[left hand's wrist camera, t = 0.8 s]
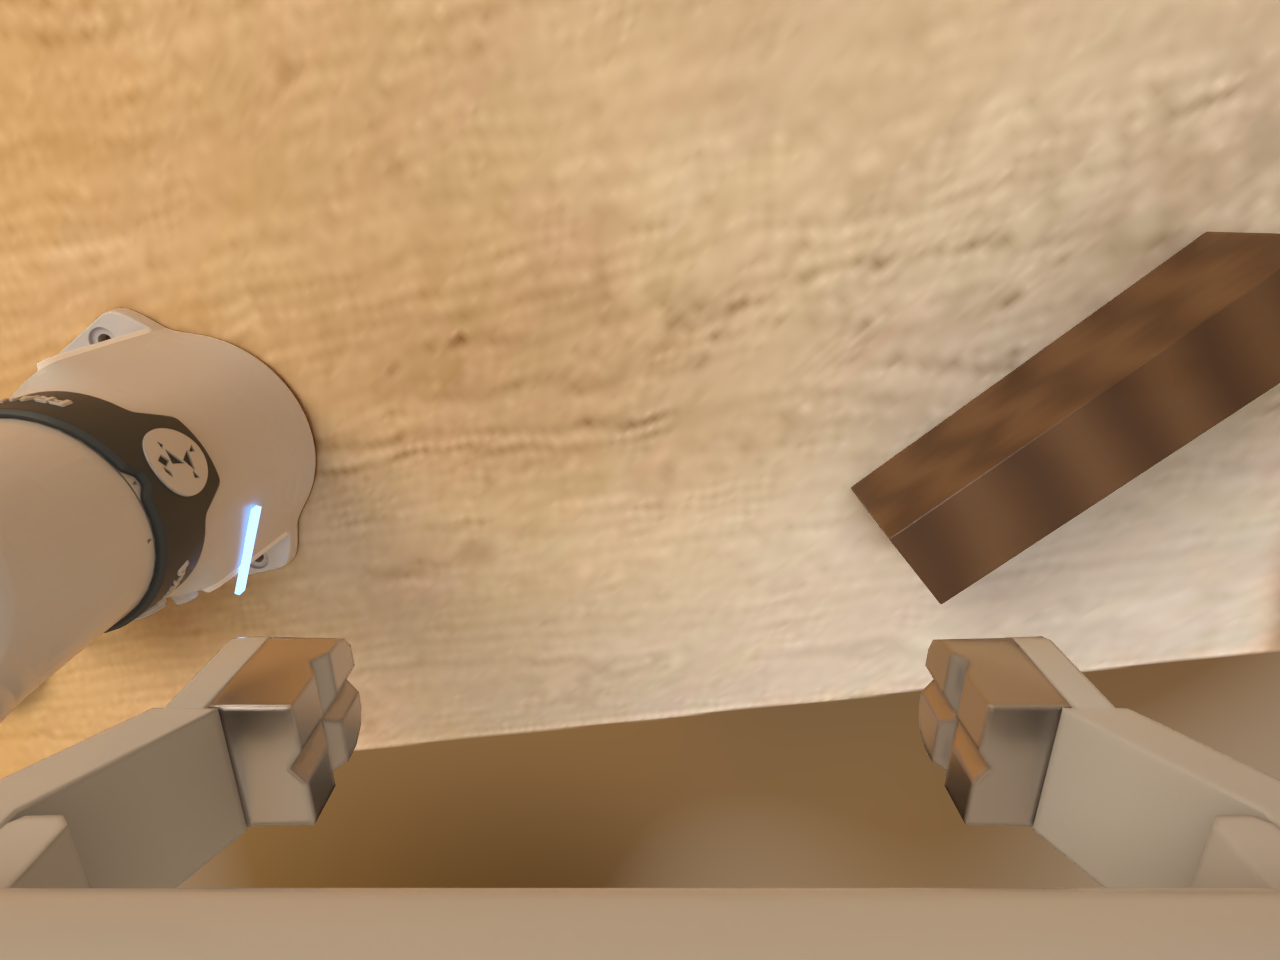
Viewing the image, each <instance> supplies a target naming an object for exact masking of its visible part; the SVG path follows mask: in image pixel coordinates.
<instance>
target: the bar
mask: <svg viewBox="0 0 1280 960" xmlns="http://www.w3.org/2000/svg"><path fill="white" fill-rule="evenodd" d="M1279 383H1280V234H1270V233H1233V232H1206V233H1205V234H1203V235H1202V236H1201V237H1199V238H1198V239H1196V240H1195V241H1194V242H1192V243H1191V244H1189V245H1188V246H1187V247H1185V248H1184V249H1182V250H1181V251H1180V252H1178V253H1177V254H1176V255H1174V256H1173V257H1171V258H1170V259H1169V260H1167V261H1166V262H1164V263H1163V264H1162V265H1160V266H1159V267H1157V268H1156V269H1155V270H1153V271H1152V272H1150V273H1149V274H1148V275H1146V276H1145V277H1144V278H1142V279H1141V280H1139V281H1138V282H1137V283H1135V284H1134V285H1132V286H1131V287H1130V288H1128V289H1127V290H1125V291H1124V292H1123V293H1121V294H1120V295H1119V296H1117V297H1116V298H1114V299H1113V300H1112V301H1110V302H1109V303H1107V304H1106V305H1105V306H1103V307H1102V308H1100V309H1099V310H1098V311H1096V312H1095V313H1093V314H1092V315H1091V316H1089V317H1088V318H1087V319H1085V320H1084V321H1082V322H1081V323H1080V324H1078V325H1077V326H1075V327H1074V328H1073V329H1071V330H1070V331H1068V332H1067V333H1066V334H1064V335H1063V336H1062V337H1060V338H1059V339H1057V340H1056V341H1055V342H1053V343H1052V344H1050V345H1049V346H1048V347H1046V348H1045V349H1043V350H1042V351H1041V352H1039V353H1038V354H1036V355H1035V356H1034V357H1032V358H1031V359H1030V360H1028V361H1027V362H1025V363H1024V364H1023V365H1021V366H1020V367H1018V368H1017V369H1016V370H1014V371H1013V372H1011V373H1010V374H1009V375H1007V376H1006V377H1005V378H1003V379H1002V380H1000V381H999V382H998V383H996V384H995V385H993V386H992V387H991V388H989V389H988V390H986V391H985V392H984V393H982V394H981V395H980V396H978V397H977V398H975V399H974V400H973V401H971V402H970V403H968V404H967V405H966V406H964V407H963V408H961V409H960V410H959V411H957V412H956V413H954V414H953V415H952V416H950V417H949V418H948V419H946V420H945V421H943V422H942V423H941V424H939V425H938V426H936V427H935V428H934V429H932V430H931V431H929V432H928V433H927V434H925V435H924V436H923V437H921V438H920V439H918V440H917V441H916V442H914V443H913V444H911V445H910V446H909V447H907V448H906V449H904V450H903V451H902V452H900V453H899V454H897V455H896V456H895V457H893V458H892V459H891V460H889V461H888V462H886V463H885V464H884V465H882V466H881V467H879V468H878V469H877V470H875V471H874V472H872V473H871V474H870V475H868V476H867V477H866V478H864V479H863V480H861V481H860V482H859V483H857V484H856V485H854V486H853V487H852V488H851V489H852V490H853V492H854V493H855V494H856V496H857V497H858V498H859V500H860V501H861V502H862V504H863V505H864V506H865V508H866V509H867V510H868V512H869V513H870V514H871V515H872V517H873V518H874V519H875V521H876V522H877V523H878V525H879V526H880V527H881V529H882V530H883V531H884V533H885V534H886V535H887V537H888V538H889V539H890V541H891V542H892V543H893V544H894V546H895V547H896V548H897V549H898V551H899V552H900V553H901V555H902V556H903V557H904V558H905V560H906V561H907V562H908V563H909V565H910V566H911V567H912V569H913V570H914V571H915V572H916V574H917V575H918V576H919V577H920V579H921V580H922V581H923V582H924V584H925V585H926V586H927V588H928V589H929V590H930V591H931V593H932V594H933V595H934V596H935V598H936V599H937V600H938V602H939V603H940V604H943V603H944V602H946V601H947V600H949V599H950V598H952V597H953V596H955V595H956V594H958V593H960V592H961V591H963V590H964V589H966V588H967V587H969V586H970V585H972V584H973V583H975V582H976V581H978V580H979V579H981V578H982V577H984V576H985V575H987V574H989V573H990V572H992V571H993V570H995V569H996V568H998V567H999V566H1001V565H1002V564H1004V563H1005V562H1007V561H1008V560H1010V559H1011V558H1013V557H1015V556H1016V555H1018V554H1019V553H1021V552H1022V551H1024V550H1025V549H1027V548H1028V547H1030V546H1031V545H1033V544H1034V543H1036V542H1037V541H1039V540H1040V539H1042V538H1044V537H1045V536H1047V535H1048V534H1050V533H1051V532H1053V531H1054V530H1056V529H1057V528H1059V527H1060V526H1062V525H1063V524H1065V523H1066V522H1068V521H1069V520H1071V519H1073V518H1074V517H1076V516H1077V515H1079V514H1080V513H1082V512H1083V511H1085V510H1086V509H1088V508H1089V507H1091V506H1092V505H1094V504H1095V503H1097V502H1099V501H1100V500H1102V499H1103V498H1105V497H1106V496H1108V495H1109V494H1111V493H1112V492H1114V491H1115V490H1117V489H1118V488H1120V487H1121V486H1123V485H1124V484H1126V483H1128V482H1129V481H1131V480H1132V479H1134V478H1135V477H1137V476H1138V475H1140V474H1141V473H1143V472H1144V471H1146V470H1147V469H1149V468H1150V467H1152V466H1154V465H1155V464H1157V463H1158V462H1160V461H1161V460H1163V459H1164V458H1166V457H1167V456H1169V455H1170V454H1172V453H1173V452H1175V451H1176V450H1178V449H1179V448H1181V447H1183V446H1184V445H1186V444H1187V443H1189V442H1190V441H1192V440H1193V439H1195V438H1196V437H1198V436H1199V435H1201V434H1202V433H1204V432H1205V431H1207V430H1209V429H1210V428H1212V427H1213V426H1215V425H1216V424H1218V423H1219V422H1221V421H1222V420H1224V419H1225V418H1227V417H1228V416H1230V415H1231V414H1233V413H1234V412H1236V411H1238V410H1239V409H1241V408H1242V407H1244V406H1245V405H1247V404H1248V403H1250V402H1251V401H1253V400H1254V399H1256V398H1257V397H1259V396H1260V395H1262V394H1263V393H1265V392H1267V391H1268V390H1270V389H1271V388H1273V387H1274V386H1276V385H1277V384H1279Z"/></svg>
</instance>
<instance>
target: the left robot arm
mask: <svg viewBox="0 0 1280 960" xmlns="http://www.w3.org/2000/svg"><path fill="white" fill-rule="evenodd" d="M107 335H108V336H110V338H111V339H109V340H107V339H106V336H107ZM315 468H316V455H315V445H314V440H313V436H312V432H311V429H310V426H309V423H308V421H307V418H306V416H305V414H304V412H303V410H302V408H301V406H300V404H299V403H298V401H297V399H296V398H295V396H294V395H293V393H292V392H291V391H290V389H289V388H288V387H287V385H286V384H285V383H284V382H283V381H282V380H281V379H280V378H279V377H278V376H277V375H276V374H275V373H274V372H273V371H272V370H271V369H270V368H269V367H268V366H266V365H265V364H264V363H263V362H261V361H260V360H259V359H257V358H256V357H254V356H253V355H251V354H250V353H248V352H246V351H245V350H243V349H241V348H239V347H237V346H235V345H233V344H230V343H228V342H225V341H223V340H220V339H217V338H213V337H210V336H205V335H200V334H193V333H187V332H180V331H175V330H172V329H168V328H165V327H164V326H162V325H160V324H159V323H157V322H155V321H153V320H151V319H150V318H148V317H146V316H144V315H142V314H140V313H138V312H136V311H133V310H131V309H127V308H116V309H113V310H110V311H107V312H105V313H103V314H101V315H100V316H99V317H98V318H97V319H96V320H95V321H94V322H92V323H91V324H90V325H89V326H88V327H87V328H86V329H85V330H84V331H83V332H82V333H80V334H79V335H78V336H77V337H76V338H75V339H74V340H73V341H72V342H71V343H69V344H68V345H67V346H66V347H65V348H64V349H63V350H62V351H61V352H60V353H58V354H57V355H55V356H52V357H49V358H47V359H44V360H42V361H40V362H39V363H38V364H37V372H36V373H35V374H33V375H32V376H31V377H29V378H28V379H27V380H26V381H25V382H24V383H23V384H22V385H21V386H20V387H19V388H18V389H17V390H16V391H15V392H14V393H13V394H12V395H11V396H10V397H9V398H6V399H3V400H0V723H1V722H2V721H3V720H4V719H5V718H6V716H7V715H8V714H9V713H10V712H11V711H12V710H13V709H14V708H15V707H16V706H17V705H18V704H19V703H21V702H22V701H23V700H24V699H25V698H26V697H27V696H28V695H30V694H31V693H32V692H33V691H34V690H35V689H37V688H38V687H39V686H40V685H41V684H42V683H44V682H45V681H46V680H47V679H48V678H49V677H50V676H52V675H53V674H54V673H55V672H56V671H58V670H59V669H60V668H61V667H62V666H64V665H65V664H66V663H67V662H68V661H70V660H71V659H72V658H73V657H74V656H76V655H77V654H78V653H79V652H81V651H82V650H83V649H84V648H85V647H87V646H88V645H89V644H90V643H92V642H93V641H94V640H95V639H97V638H98V637H99V636H100V635H102V634H103V633H106V632H109V631H112V630H115V629H118V628H121V627H123V626H125V625H127V624H128V623H130V622H131V621H135V620H139V619H143V618H145V617H148V616H150V615H152V614H154V613H156V612H158V611H159V610H161V609H162V608H164V607H165V606H166V605H167V599H166V598H167V597H171V598H172V600H173V601H174V603H175V604H176V605H181V604H184V603H187V602H189V601H191V600H193V599H195V598H196V597H197V596H198V595H199V592H198V591H200V590H202V591H204V592H206V593H209V592H211V591H213V590H215V589H217V588H219V587H220V586H222V585H223V584H224V583H226V582H227V581H228V580H230V579H234V578H238V579H237V584H236V589H235V594H238V595H240V594H241V593H242V592H243V591H244V590H245V587H246V582H247V577H248V575H252V574H256V573H260V572H265V571H269V570H274V569H278V568H281V567H283V566H285V565H286V564H287V563H289V562H290V561H292V560H293V559H294V557H295V555H296V552H297V546H298V526H297V522H298V519H299V516H300V513H301V511H302V509H303V507H304V505H305V503H306V501H307V499H308V497H309V494H310V492H311V489H312V485H313V481H314V476H315ZM262 554H263V556H264V557H260V556H261V555H262ZM353 667H354V660H353V655H352V650H351V645H350V644H349V643H348V642H347V641H346V640H345V639H342V638H292V637H274V638H272V637H238V638H234V639H230V640H229V641H228V642H227V643H226V644H225V645H224V646H223V647H222V649H221V650H220V651H219V652H218V653H217V654H216V655H215V656H214V657H213V658H212V659H211V660H210V661H209V662H208V663H207V664H206V665H205V666H204V667H203V668H202V669H201V670H200V672H199V673H198V674H197V675H196V676H195V677H194V678H193V679H192V680H191V681H190V682H189V683H188V684H187V685H186V686H185V687H184V688H183V689H182V690H181V691H180V692H179V693H178V695H177V696H176V697H175V698H174V699H173V700H172V701H171V702H170V703H169V704H168V705H167V706H166V707H165V708H152V709H150V710H148V711H145V712H143V713H141V714H139V715H137V716H135V717H133V718H131V719H128V720H126V721H124V722H122V723H120V724H118V725H116V726H113V727H111V728H109V729H107V730H105V731H103V732H101V733H99V734H96V735H94V736H92V737H90V738H88V739H86V740H84V741H81V742H79V743H77V744H75V745H73V746H71V747H69V748H67V749H64V750H62V751H60V752H58V753H56V754H54V755H52V756H49V757H47V758H45V759H43V760H41V761H39V762H37V763H35V764H32V765H30V766H28V767H26V768H24V769H22V770H20V771H17V772H15V773H13V774H11V775H9V776H7V777H5V778H3V779H0V960H1280V780H1279V779H1277V778H1275V777H1273V776H1271V775H1269V774H1267V773H1264V772H1262V771H1260V770H1258V769H1256V768H1254V767H1252V766H1249V765H1247V764H1245V763H1243V762H1241V761H1239V760H1237V759H1235V758H1232V757H1230V756H1228V755H1226V754H1224V753H1222V752H1220V751H1218V750H1215V749H1213V748H1211V747H1209V746H1207V745H1205V744H1203V743H1201V742H1198V741H1196V740H1194V739H1192V738H1190V737H1188V736H1186V735H1183V734H1181V733H1179V732H1177V731H1175V730H1173V729H1171V728H1169V727H1166V726H1164V725H1162V724H1160V723H1158V722H1156V721H1154V720H1152V719H1149V718H1147V717H1145V716H1143V715H1141V714H1139V713H1137V712H1135V711H1132V710H1130V709H1128V708H1115V707H1114V706H1113V705H1112V704H1111V703H1110V702H1109V701H1108V700H1107V699H1106V698H1105V696H1104V695H1103V694H1102V693H1101V692H1100V691H1099V690H1098V689H1097V688H1096V687H1095V686H1094V685H1093V684H1092V683H1091V682H1090V681H1089V680H1088V679H1087V678H1086V677H1085V676H1084V674H1083V673H1082V672H1081V671H1080V670H1079V669H1078V668H1077V667H1076V666H1075V665H1074V664H1073V663H1072V662H1071V661H1070V660H1069V659H1068V658H1067V657H1066V656H1065V655H1064V654H1063V652H1062V651H1061V650H1060V649H1059V648H1058V647H1057V646H1056V645H1055V644H1054V643H1053V642H1052V641H1051V640H1049V639H1046V638H1044V637H1042V636H1039V637H1011V638H987V639H944V640H933V641H932V643H931V645H930V647H929V649H928V654H927V660H926V667H927V669H928V670H929V672H930V674H931V675H932V677H933V678H934V679H933V681H932V682H931V683H930V684H929V685H928V686H927V687H926V688H925V689H924V690H923V691H922V692H921V697H920V705H919V723H920V733H921V736H922V739H923V743H924V746H925V748H926V750H927V752H928V755H929V756H930V758H931V760H932V761H933V762H934V763H935V764H937V765H938V766H940V767H941V768H943V769H944V770H946V771H947V775H946V781H945V787H946V789H947V791H948V793H949V795H950V796H951V798H952V800H953V802H954V804H955V806H956V808H957V809H958V811H959V813H960V815H961V817H962V819H963V821H964V823H965V824H966V825H995V826H1031V827H1033V831H1035V832H1036V833H1037V834H1038V835H1040V836H1041V837H1042V838H1043V839H1045V840H1046V841H1047V842H1048V843H1050V844H1051V845H1052V846H1053V847H1055V848H1056V849H1057V850H1058V851H1059V852H1061V853H1062V854H1063V855H1064V856H1066V857H1067V858H1068V859H1069V860H1071V861H1072V862H1073V863H1074V864H1075V865H1077V866H1078V867H1079V868H1080V869H1082V870H1083V871H1084V872H1085V873H1087V874H1088V875H1089V876H1090V877H1092V878H1093V879H1094V880H1095V881H1096V882H1098V883H1099V884H1100V885H1101V886H1103V887H1104V888H176V887H178V886H179V885H180V884H181V883H183V882H184V881H185V880H186V879H188V878H189V877H190V876H191V875H193V874H194V873H195V872H196V871H197V870H199V869H200V868H201V867H202V866H204V865H205V864H206V863H207V862H209V861H210V860H211V859H212V858H214V857H215V856H216V855H217V854H218V853H220V852H221V851H222V850H223V849H225V848H226V847H227V846H228V845H230V844H231V843H232V842H233V841H235V840H236V839H237V838H238V837H239V836H241V835H242V834H243V833H244V832H246V831H247V827H249V826H284V825H314V824H315V823H316V821H317V819H318V817H319V815H320V814H321V812H322V810H323V808H324V806H325V804H326V802H327V800H328V799H329V797H330V795H331V793H332V791H333V789H334V787H335V781H334V775H333V771H334V770H336V769H337V768H339V767H340V766H342V765H343V764H345V763H346V762H348V761H349V759H350V757H351V755H352V753H353V750H354V748H355V746H356V744H357V739H358V735H359V731H360V726H361V703H360V696H359V692H358V691H357V690H356V689H355V688H354V687H353V686H352V685H351V684H350V683H349V681H348V680H347V677H348V675H349V674H350V672H351V670H352V669H353Z"/></svg>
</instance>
